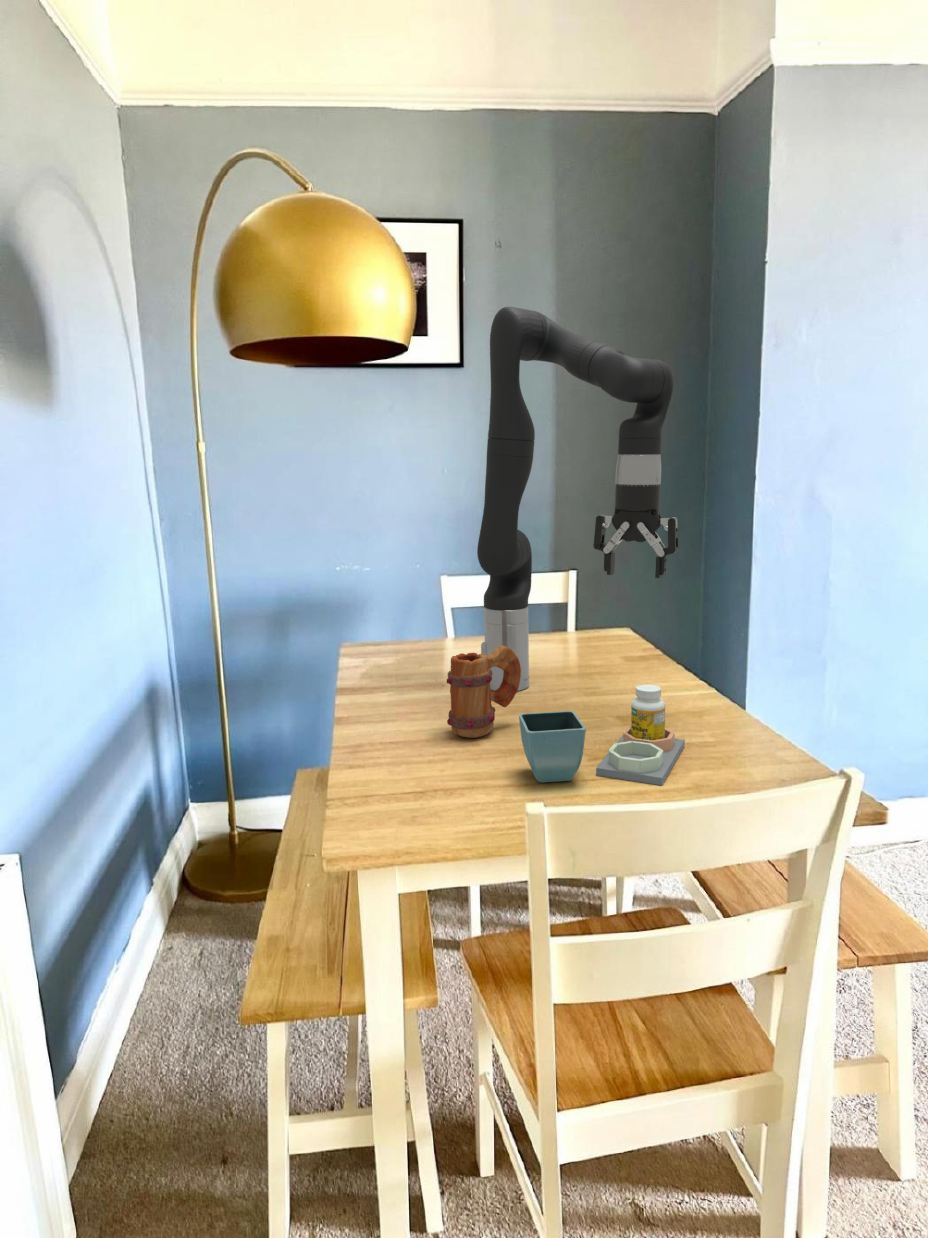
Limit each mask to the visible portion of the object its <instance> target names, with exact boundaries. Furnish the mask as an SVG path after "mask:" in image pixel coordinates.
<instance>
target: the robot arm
mask: <svg viewBox="0 0 928 1238" xmlns="http://www.w3.org/2000/svg"><path fill="white" fill-rule="evenodd" d="M489 333H490V334H489V364H490V398H489V399H490V401H489V404H490V405H489V422H488V433H487V445H486V465H485V482H484V502H483V503H484V504H483V513H482V518H481V519H482V520H481V526H480V530H479V536H478V541H477V542H478V543H477V549H476V550H477V552H476V553H477V559H478V563H479V565H480V567H481V569H482V570H483V571H484V572H485V573H486V574H487V575H489V581H488V582H489V583H488V585H487V588H486V591H485V592H484V594H483V614H484V615H483V621H484V626H483V627H484V641H483V642H481V645H480V654H484V655H489V654H491V653H492V652H493V651H494V650H495V649H496V647H498V646H501V645H503V646H506V647H508V648H510V649H512V650H513V652H514V653H515V654H516V656H517V657H518V659H519V662H520V666H521V678H520V683H519V687H518V690H517V692H519V691H522V690H525V689H528V687H529V686H530V663H529V662H530V659H529V658H530V655H529V654H530V653H529V649H530V648H529V647H530V646H529V645H530V644H529V639H530V638H529V596H530V593H531V590H532V570H533V567H532V566H533V565H532V564H533V561H532V560H533V555H532V547H531V542H530V540H529V538H528V537H527V535H526V534H525V533H524V532H523V531H521V530H519V529H518V525H519V511H520V506H521V502H522V499H523V495H524V492H525V490H526V487H527V484H528V481H529V479H530V475H531V472H532V467H533V460H534V450H535V439H536V438H535V436H536V435H535V433H536V432H535V425H534V423H533V419H532V417H531V414H530V412H529V409H528V407H527V404H526V402H525V400H524V397H523V393H522V389H521V383H520V369H521V368H520V364H521V361H525V362H530V361H536V362H537V361H538V362H546V363H552V364H556V365H558V366H560V367H562V368H564V369H565V370H566V372H568V373H569V374H570V375H572V377H573V376H574V378H576V379H578V380H581V381H582V382H585V383H588V384H590V385H593V386H595V387H598V388H600V389H601V390H602V391H603V392H605V393H606V394H608V395H609V396H610V397H612V398H614V399H616V400H619V401H621V402H624V403H631V404H633V403H634V404H635V403H636V407H635V410H634V413H633V416H632V417H630V418H625V419H624V420H623V421H622V422H621V423H620V425H619V429H618V430H619V431H618V443H617V444H618V449H617V450H618V451H617V452H618V453H617V454H618V455H617V461H616V466H615V469H616V470H615V476H614V480H615V486H614V487H615V488H614V491H615V492H614V513H613V516H611V515H606V514H598V515H597V516H596V517H595V527H594V535H593V548H594V549H595V550H598V551H600V552H602V553H603V555H604V556H603V570H604V572H606V575H607V576H612V575H614V574H615V566H616V565H615V562H616V561H615V559H616V553H615V552H614V550H616V548H617V547H618V546H619V544H620V543H621V542H622V541H624V542H629V543H630V542H633V541H634V542H638V543H644V542H647V543H648V545H650V547H651V548H652V549H653V551H654V552H655V554H656V556H655V576H654V577H655V579H661V578H662V577H663V576H664V575H665V574H666V572H667V561H668V560H667V559H668V557H669V555H672V554H675V553H676V552H678V550H679V518H678V517H676V516H673V517H669V518H667V517H664V518H663V517H661V514H660V508H661V507H660V504H661V484H662V481H661V480H662V459H661V456H662V455H661V453H662V429H663V426H664V424H665V421H666V417H667V414H668V410H669V407H670V403H671V399H672V395H673V392H674V377H673V373H672V370H671V368H670V366H669V365H668V364H667V363H666V362H665V361H664V360H663V361H662V360H660V359H653V358H641V357H634V356H631V355H630V356H628V355H625V352H623V351H622V350H621V349H619V348H617V347H615V346H612V345H610V344H608V343H605V342H602V341H599V340H596V339H592V338H590V337H589V338H588V337H586V336H583V335H579V334H576V333H574V332H572V331H570V330H568V329H566V328H564V327H562V326H561V325H560V324H558V323H557V322H555V321H554V320H552V319H551V318H549V317H547V316H546V315H545V314H543V313H541V312H539V311H536V310H532V309H526V308H520V307H516V306H504V307H502V308H500V309H499V310H498V311H497V313H496V314H495V316H494V318H493V320H492V323H491V327H490V332H489ZM610 524H612V526H613V527H614V528H615V530H616V532H615V533H614V534H613V536H612V537H611V538H610V539H609V541H608V542H607V543H605V541H606V530H607V528H609V526H610ZM661 525H662V526H663V528H664V531H666V532H667V546H665V544H664V543H663V542H662V539H661V537H660V536H659V534H658V533H657V530H658V529H659V528H660V527H661ZM491 671H492V681H491V682H490V690H491V691H495V690H497V689H498V688H499V687H500V685H501V683H502V681H503V674H504V671H503V670H502V669H500V668H498V667H496V666H495V667H491Z"/></svg>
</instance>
